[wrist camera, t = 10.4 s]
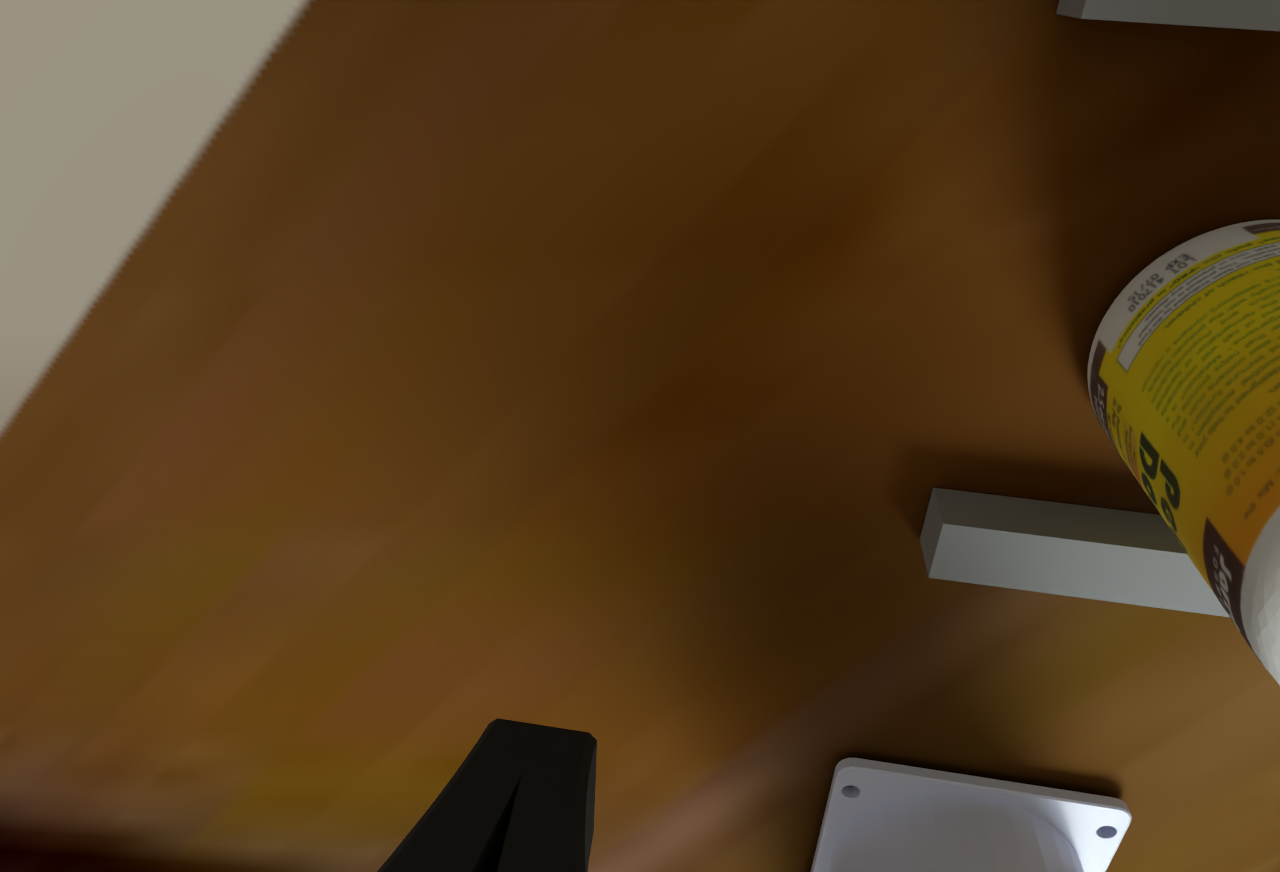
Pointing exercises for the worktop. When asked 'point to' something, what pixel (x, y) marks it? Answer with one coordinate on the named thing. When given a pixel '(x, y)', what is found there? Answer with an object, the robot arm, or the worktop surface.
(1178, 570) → the bay
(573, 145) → the worktop surface
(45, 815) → the worktop surface
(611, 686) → the worktop surface
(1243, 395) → the supplement bottle
